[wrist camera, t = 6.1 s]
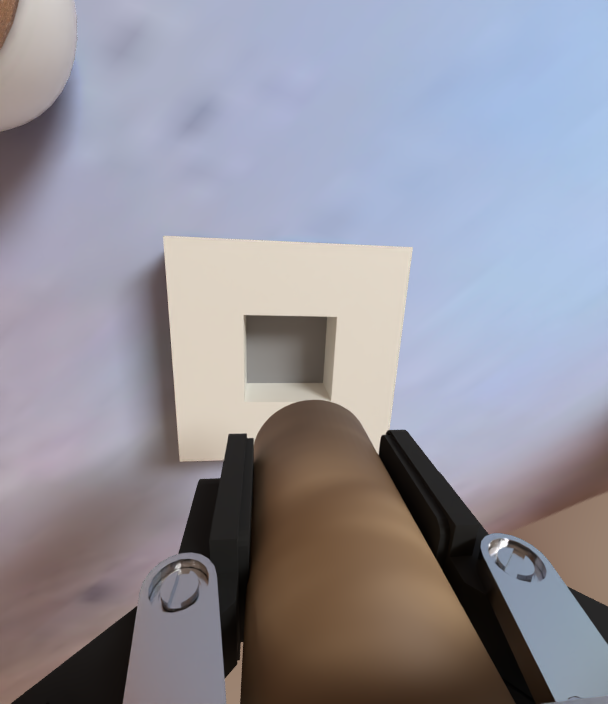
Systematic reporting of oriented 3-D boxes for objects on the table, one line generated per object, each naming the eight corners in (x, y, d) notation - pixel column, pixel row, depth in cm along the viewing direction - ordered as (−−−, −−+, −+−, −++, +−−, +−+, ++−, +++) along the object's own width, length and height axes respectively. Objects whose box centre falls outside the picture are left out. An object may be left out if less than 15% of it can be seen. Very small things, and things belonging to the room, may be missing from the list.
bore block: (388, 247, 24) (412, 247, 20) (369, 426, 28) (385, 455, 24) (180, 237, 22) (163, 235, 18) (191, 430, 26) (179, 461, 22)
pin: (372, 398, 12) (585, 696, 4) (361, 497, 13) (508, 872, 5) (252, 400, 11) (228, 742, 3) (253, 502, 12) (236, 927, 5)
